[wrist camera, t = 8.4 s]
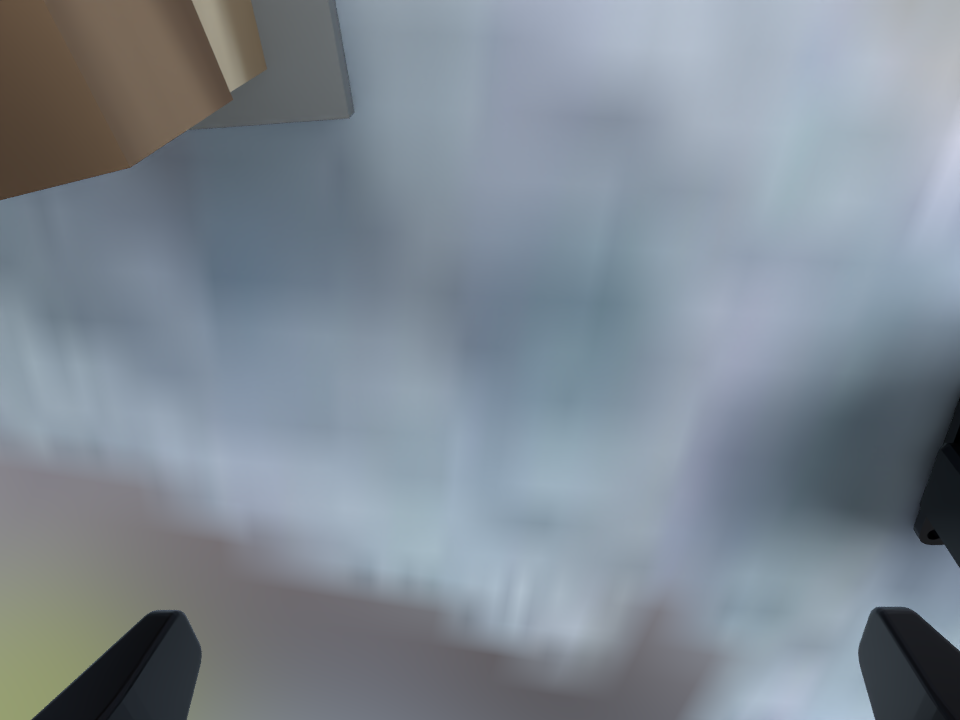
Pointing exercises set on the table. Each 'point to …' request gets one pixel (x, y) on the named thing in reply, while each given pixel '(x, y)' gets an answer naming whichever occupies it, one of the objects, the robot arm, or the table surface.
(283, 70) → the mat
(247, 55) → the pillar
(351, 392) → the table surface
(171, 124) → the lintel
